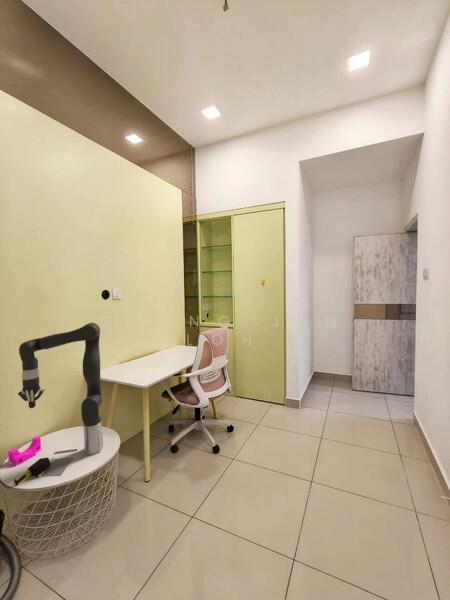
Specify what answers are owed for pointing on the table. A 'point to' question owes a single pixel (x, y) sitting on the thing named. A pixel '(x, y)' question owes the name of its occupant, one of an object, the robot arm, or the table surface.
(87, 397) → the robot arm
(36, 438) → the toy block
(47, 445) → the table surface
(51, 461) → the mat
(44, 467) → the tape measure
